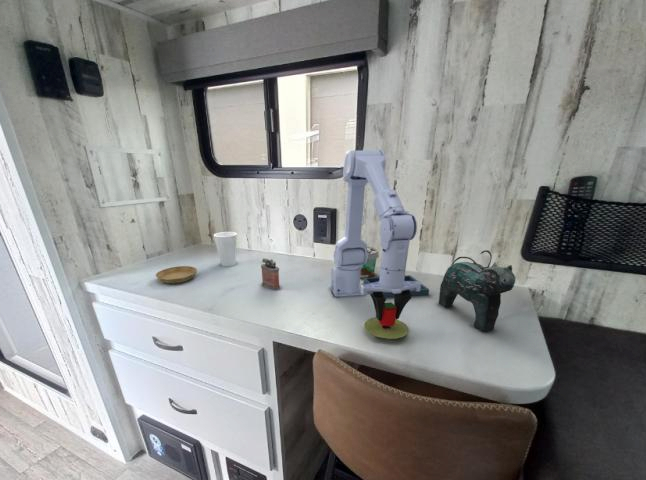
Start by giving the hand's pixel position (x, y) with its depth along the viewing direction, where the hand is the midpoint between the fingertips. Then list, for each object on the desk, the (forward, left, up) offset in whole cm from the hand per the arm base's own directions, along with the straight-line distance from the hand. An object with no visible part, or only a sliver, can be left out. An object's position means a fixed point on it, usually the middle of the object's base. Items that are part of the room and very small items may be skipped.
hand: (387, 318), depth 78 cm
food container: (+10, +42, -5) cm, 43 cm away
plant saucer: (-63, +51, -5) cm, 81 cm away
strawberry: (0, 0, -1) cm, 1 cm away
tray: (+14, +27, -4) cm, 31 cm away
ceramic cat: (+25, +5, -5) cm, 26 cm away
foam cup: (-45, +66, -5) cm, 80 cm away
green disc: (0, 0, -5) cm, 5 cm away
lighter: (-28, +37, -5) cm, 47 cm away
